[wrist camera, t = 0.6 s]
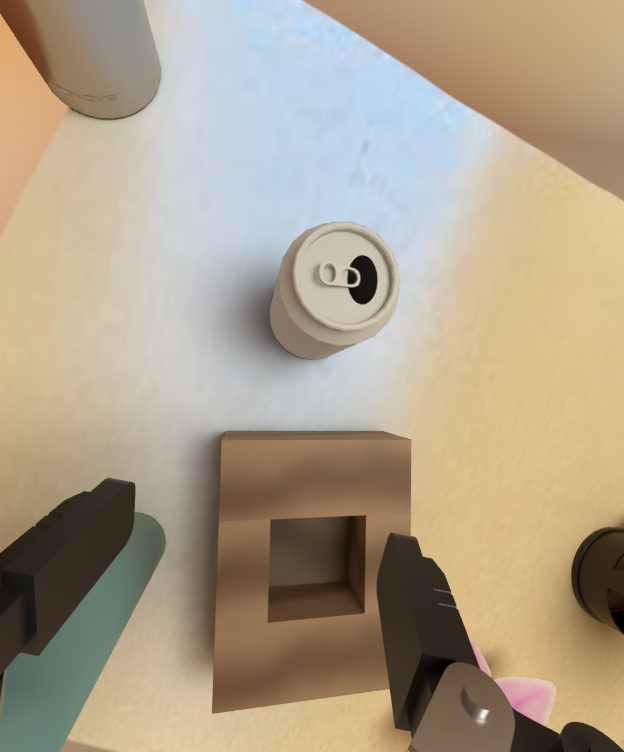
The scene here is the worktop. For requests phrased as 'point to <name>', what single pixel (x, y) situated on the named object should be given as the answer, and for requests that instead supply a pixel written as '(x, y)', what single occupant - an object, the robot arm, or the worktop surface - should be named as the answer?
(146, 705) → the worktop surface
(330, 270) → the can
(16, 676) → the peg
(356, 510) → the well block
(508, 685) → the lily
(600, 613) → the french press
